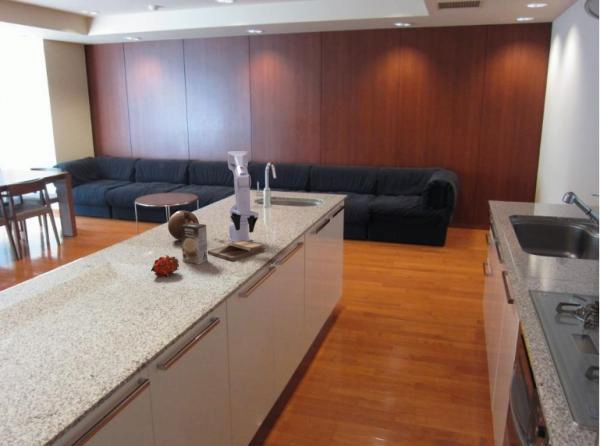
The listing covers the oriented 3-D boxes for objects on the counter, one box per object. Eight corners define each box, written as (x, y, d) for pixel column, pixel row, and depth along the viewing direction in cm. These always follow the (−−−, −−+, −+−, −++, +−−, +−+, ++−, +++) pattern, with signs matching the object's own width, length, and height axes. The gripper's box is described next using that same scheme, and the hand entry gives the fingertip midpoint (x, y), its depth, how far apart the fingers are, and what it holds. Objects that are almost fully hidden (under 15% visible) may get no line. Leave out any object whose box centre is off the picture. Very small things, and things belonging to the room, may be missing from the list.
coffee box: (182, 261, 211) (179, 225, 207) (191, 257, 217) (189, 222, 213) (199, 264, 207) (197, 227, 203) (208, 260, 213) (206, 224, 209)
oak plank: (213, 240, 222) (214, 237, 222) (229, 245, 230) (230, 242, 230) (234, 246, 213) (235, 243, 213) (250, 250, 221) (250, 248, 221)
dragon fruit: (182, 275, 198) (155, 286, 191) (172, 260, 202) (144, 270, 195) (185, 263, 192) (156, 274, 185) (174, 247, 196) (146, 257, 189)
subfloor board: (207, 253, 222) (207, 248, 221) (240, 244, 236) (240, 239, 236) (231, 261, 212) (231, 255, 211) (264, 250, 226) (264, 245, 226)
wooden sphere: (168, 237, 249) (166, 208, 245) (198, 235, 253) (196, 206, 250) (170, 245, 235) (167, 215, 231) (201, 242, 240) (200, 212, 236)
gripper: (225, 201, 221) (226, 230, 224) (251, 204, 214) (252, 235, 217) (235, 199, 227) (236, 227, 230) (260, 202, 220) (261, 231, 223)
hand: (244, 231), depth 224 cm, fingers open, 7 cm apart
